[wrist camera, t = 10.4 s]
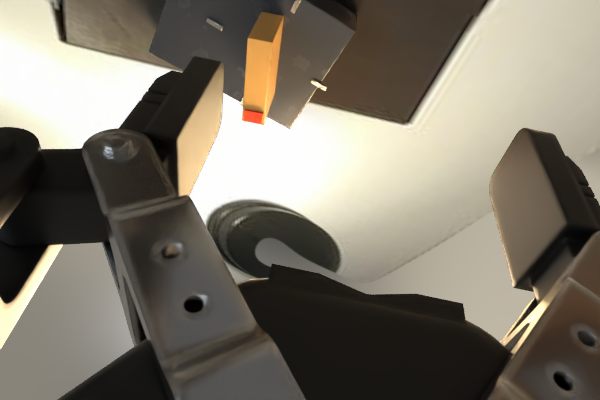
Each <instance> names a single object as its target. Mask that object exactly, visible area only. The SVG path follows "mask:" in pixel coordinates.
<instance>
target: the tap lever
mask: <svg viewBox="0 0 600 400" xmlns="http://www.w3.org/2000/svg"><path fill="white" fill-rule="evenodd" d="M283 19H284V16H282V15H277V14H272V13H267V12H261V14H260V16H259V17H258V19H257V21H256V23H255V25H254V27H253V29H252V31H251V33H250V35H249V37H248V40H247V56H246V71H245V86H244V102H243V117H242V120H243V121H248V122H253V123H258V124H263V125H264V123H265V120H266V117H267V114H268V111H269V109H270V106H271V103H272V100H273V97H274V94H275V86H276V78H277V70H278V61H279V53H280V44H281V36H282V27H283Z"/></svg>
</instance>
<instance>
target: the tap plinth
mask: <svg viewBox="0 0 600 400" xmlns="http://www.w3.org/2000/svg"><path fill="white" fill-rule="evenodd" d="M261 12H267V13H272V14H277V15H282V16H284V19H283V27H282V36H281V44H280V53H279V61H278V70H277V78H276V86H275V94H274V97H273V100H272V103H271V106H270V109H269V111H268V114H267V117H269V118H271V119H273V120H275V121H276V122H278V123H280V124H282V125H284V126H286V127H287V128H289V129H290V128H291V126H292V125H293V123H294V122H295V120H296V119H297V117H298V116H299V115H300V113H301V112H302V110H303V109H304V107H305V106H306V104H307V103H308V101H309V100H310V98H311V97H312V95H313V94H314V92H315V91H316V89H317V88H318V87H319V88H321V89H322V90H324V91H325V89H326V88H327V87H326V86H325V85H323V84H321V82H322V80H323V79H324V77H325V76H326V75H327V73H328V72H329V70H330V69H331V67H332V66H333V64H334V63H335V61H336V60H337V58H338V57H339V55H340V54H341V52H342V51H343V49H344V48H345V46H346V45H347V43H348V42H349V40H350V39H351V37H352V36H353V35H354V33H355V30H356V21H357V14H355V13H353V12H352V11H350V10H349V9H347V8H346V7H344V6H343V5H341V4H340V3H338V2H336V1H335V0H166V2H165V5H164V8H163V11H162V14H161V17H160V20H159V23H158V26H157V29H156V32H155V35H154V38H153V41H152V44H151V47H150V50H149V52H150V53H152V54H154V55H156V56H157V57H159V58H161V59H163V60H165V61H167V62H168V63H170V64H172V65H174V66H176V67H178V68H179V69H181V70H183V71H184V70H185V69H186V67H187V66H188V64H189V63H190V61H191V60H192V58H193V57H194V56H197V57H201V58H206V59H211V60H215V61H220V62H223V64H224V82H223V93H225V94H227V95H229V96H231V97H233V98H234V99H236V100H238V101H240V104H241V105H243V102H244V86H245V71H246V56H247V40H248V37H249V35H250V33H251V31H252V29H253V27H254V25H255V23H256V21H257V19H258V17H259V16H260V14H261Z"/></svg>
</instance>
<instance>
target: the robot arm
mask: <svg viewBox="0 0 600 400" xmlns="http://www.w3.org/2000/svg"><path fill="white" fill-rule="evenodd" d="M223 82H224V64H223V62H220V61H215V60H211V59H206V58H201V57H197V56H194V57H193V58H192V60H191V61H190V63H189V64H188V66H187V67H186V69H185V70H184V72H183V73H181V72H176V71H170V72H168V73H166V74H164V75H162V76H161V77H159V78H157V79H156V80H155V81H154V83H153V84H152V85H151V87H150V88H149V89H148V92H146V93H145V95H144V96H143V97H142V100H141V101H139V103H138V104H137V105H136V107H135V108H134V109H133V110H132V112H131V113H130V114H129V116H128V117H127V118H126V120H125V121H124V122H123V124H122V125H121V126H120V128H119V129H110V130H106V131H102V132H99V133H97V134H95V135H93V136H91V137H90V138H89V139H88V140H87V141H86V142H85V143H84V145H83V147H82V148H81V149H41V147H40V144H39V141H38V139H37V137H36V136H35V135H34V134H33V133H31V132H29V131H27V130H24V129H20V128H13V127H1V128H0V349H1V348H2V346H3V344H4V343H5V341H6V339H7V338H8V336H9V334H10V332H11V331H12V329H13V327H14V326H15V324H16V322H17V321H18V319H19V317H20V316H21V314H22V312H23V311H24V309H25V307H26V306H27V304H28V302H29V301H30V299H31V297H32V296H33V294H34V292H35V291H36V289H37V287H38V286H39V284H40V282H41V281H42V279H43V277H44V276H45V274H46V272H47V271H48V269H49V267H50V266H51V264H52V262H53V261H54V259H55V257H56V256H57V254H58V252H59V250H60V249H61V247H62V246H63V244H80V243H97V242H102V244H103V247H104V250H105V253H106V256H107V259H108V262H109V266H110V269H111V272H112V275H113V278H114V281H115V284H116V287H117V289H118V293H119V296H120V299H121V302H122V305H123V308H124V312H125V316H126V320H127V324H128V327H129V331H130V334H131V338H132V341H133V343H134V348H132V349H131V350H129V351H128V352H126V353H125V354H123V355H122V356H120V357H119V358H117V359H116V360H115V361H113V362H112V363H110V364H109V365H107V366H106V367H104V368H103V369H102V370H100V371H99V372H97V373H96V374H94V375H93V376H91V377H90V378H88V379H87V380H85V381H84V382H83V383H82V384H80V385H78V386H77V387H75V388H74V389H72V390H71V391H69V392H68V393H66V394H65V395H64V396H62V397H61V398H59V399H58V400H600V206H599V203H598V201H597V199H595V198H594V193H593V192H592V190H591V188H590V187H588V185H589V184H588V182H587V180H586V178H585V176H584V174H583V172H582V170H581V169H580V168H579V167H578V166H577V165H576V164H575V163H574V162H573V161H572V160H571V159H570V158H569V157H568V156H565V154H564V152H563V150H562V148H561V146H560V144H559V142H558V140H557V138H556V136H555V135H554V134H551V133H547V132H542V131H537V130H533V129H528V128H523V129H521V130H520V131H519V132H518V133H517V134H516V136H515V138H514V139H513V141H512V143H511V144H510V146H509V148H508V149H507V151H506V152H505V154H504V156H503V157H502V159H501V161H500V162H499V164H498V166H497V167H496V169H495V171H494V173H493V175H492V177H491V181H490V186H489V194H490V198H491V202H492V206H493V209H494V213H495V217H496V221H497V225H498V229H499V233H500V236H501V240H502V244H503V248H504V252H505V256H506V260H507V263H508V267H509V271H510V275H511V279H512V283H513V287H514V288H518V289H523V290H528V291H532V292H534V294H535V298H534V299H533V300H532V301H531V302H530V303H529V304H528V305H527V307H526V308H525V309H524V311H523V312H522V314H521V315H520V316H519V318H518V319H517V320H516V322H515V323H514V325H513V326H512V327H511V329H510V330H509V331H508V333H507V334H506V335H505V337H504V338H503V339H502V341H501V342H499V341H497V340H496V339H495V338H494V337H493V336H491V335H490V334H488V333H487V332H486V331H484V330H483V329H481V328H480V327H478V326H476V325H474V324H472V323H470V322H468V321H466V320H465V315H464V308H463V304H462V303H457V302H452V301H448V300H442V299H438V298H433V297H429V296H423V295H419V294H385V295H369V294H365V293H362V292H360V291H357V290H355V289H353V288H351V287H348V286H346V285H344V284H342V283H339V282H337V281H335V280H332V279H330V278H328V277H326V276H323V275H321V274H319V273H314V272H309V271H304V270H299V269H295V268H290V267H285V266H280V265H276V264H272V266H271V270H270V274H269V278H256V279H248V280H244V281H240V282H236V283H235V281H234V279H233V277H232V275H231V273H230V271H229V270H228V268H227V266H226V264H225V262H224V260H223V258H222V256H221V254H220V253H219V251H218V249H217V247H216V245H215V243H214V241H213V239H212V237H211V235H210V234H209V232H208V230H207V228H206V226H205V224H204V222H203V220H202V218H201V217H200V215H199V213H198V211H197V209H196V207H195V205H194V203H193V202H192V200H191V198H190V197H189V195H190V192H191V190H192V188H193V186H194V184H195V182H196V180H197V177H198V175H199V173H200V171H201V169H202V167H203V165H204V162H205V160H206V158H207V156H208V154H209V152H210V149H211V147H212V145H213V143H214V141H215V139H216V137H217V134H218V131H219V128H220V124H221V118H222V103H223Z"/></svg>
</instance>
